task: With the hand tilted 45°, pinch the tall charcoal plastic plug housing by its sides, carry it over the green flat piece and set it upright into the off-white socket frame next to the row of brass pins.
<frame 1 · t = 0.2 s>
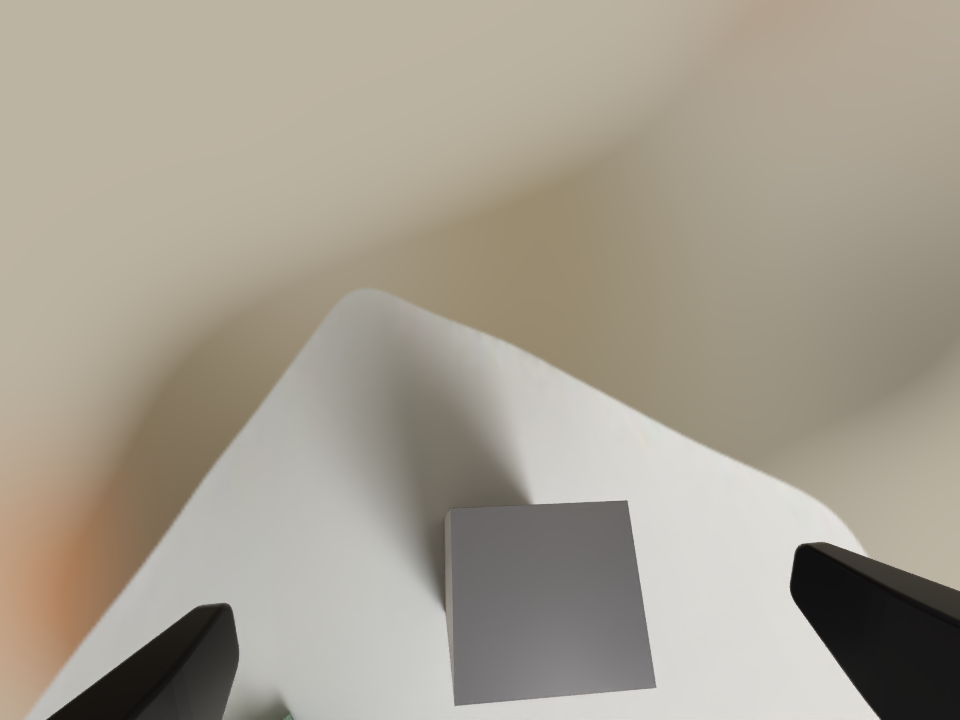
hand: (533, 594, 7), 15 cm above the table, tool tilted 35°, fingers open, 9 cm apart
plug housing: (493, 561, 21), on the table
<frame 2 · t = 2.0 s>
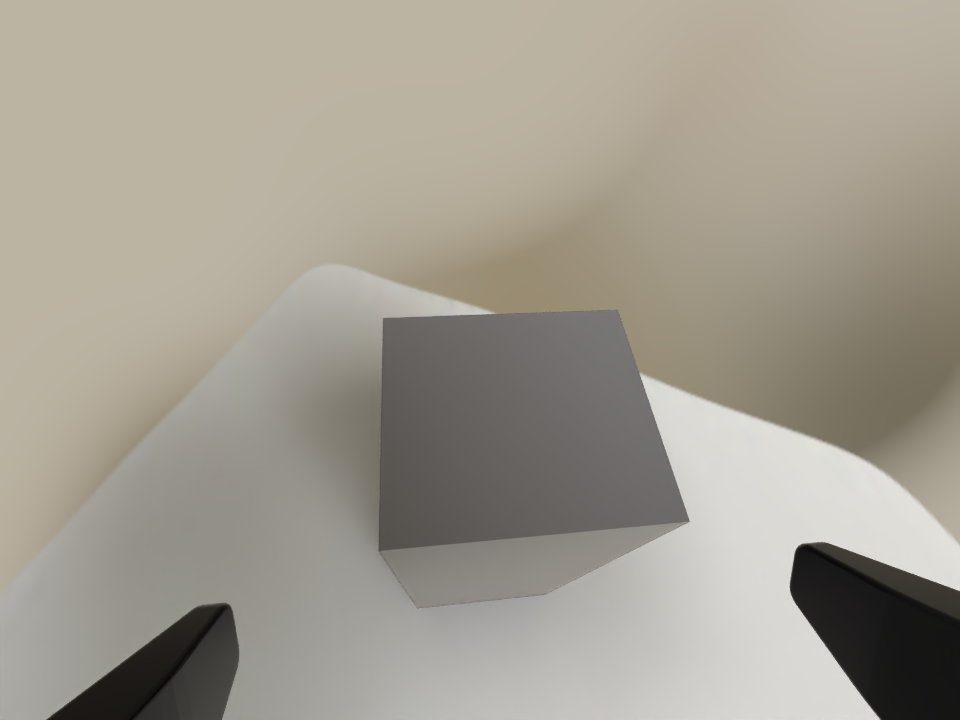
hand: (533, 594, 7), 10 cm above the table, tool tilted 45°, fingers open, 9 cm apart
plug housing: (477, 540, 17), on the table
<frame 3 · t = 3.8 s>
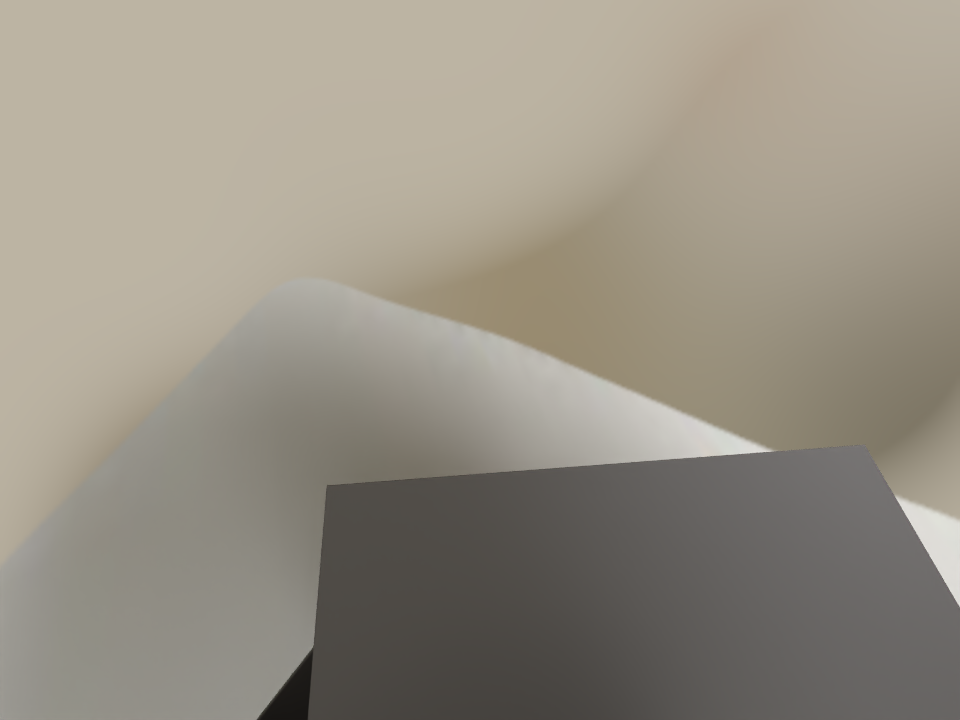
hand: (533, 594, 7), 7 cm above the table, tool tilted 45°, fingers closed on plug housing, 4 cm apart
plug housing: (498, 675, 12), on the table, touching gripper
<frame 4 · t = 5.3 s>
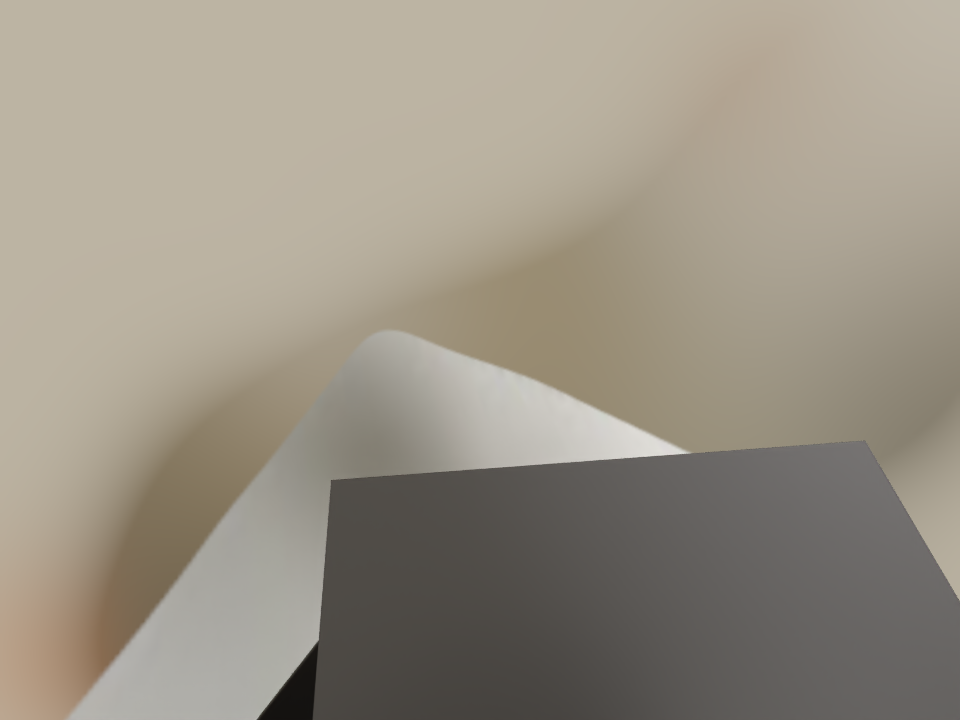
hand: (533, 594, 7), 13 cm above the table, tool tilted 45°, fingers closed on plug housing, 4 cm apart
plug housing: (499, 673, 12), point 7 cm above the table, touching gripper
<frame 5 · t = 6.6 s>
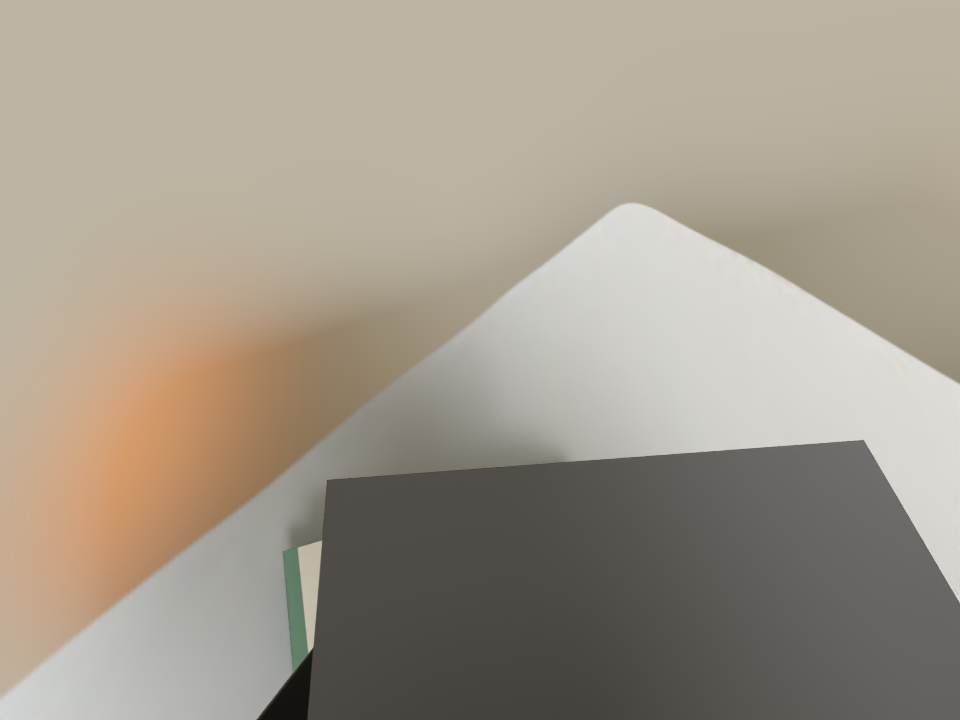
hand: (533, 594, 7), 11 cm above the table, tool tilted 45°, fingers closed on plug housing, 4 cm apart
green flat piece: (496, 713, 15), on the table
plug housing: (498, 674, 12), point 5 cm above the table, touching gripper
when the fingers open (9 cm above the table, at t = 7.3 s): plug housing drops 1 cm, resting on green flat piece.
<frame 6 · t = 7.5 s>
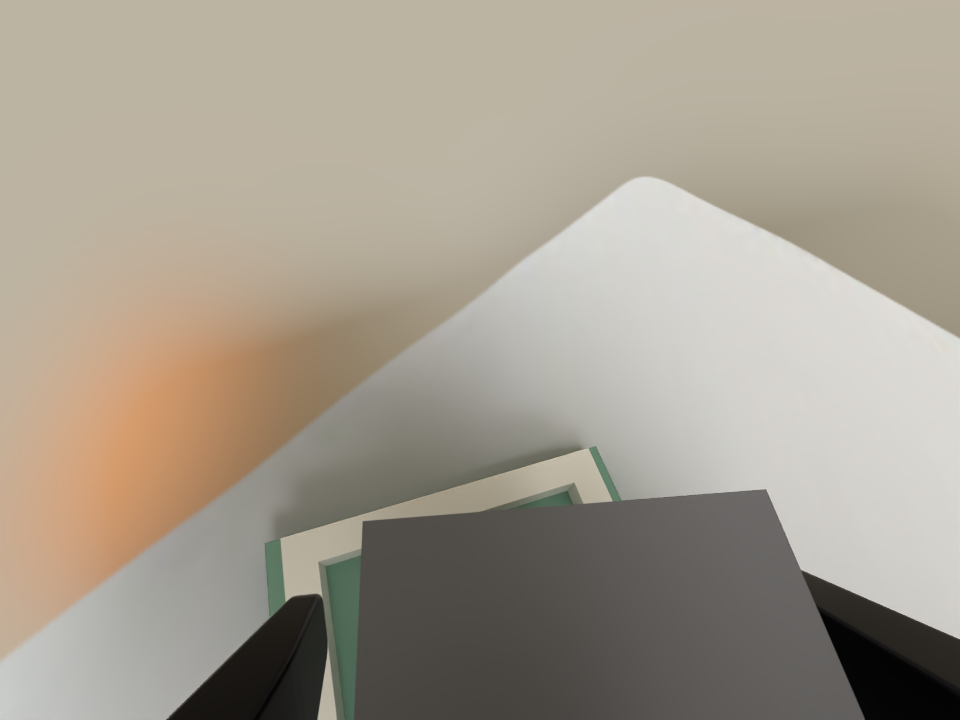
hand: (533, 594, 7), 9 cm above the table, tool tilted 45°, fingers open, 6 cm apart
plug housing: (494, 669, 13), point 1 cm above the table, touching green flat piece
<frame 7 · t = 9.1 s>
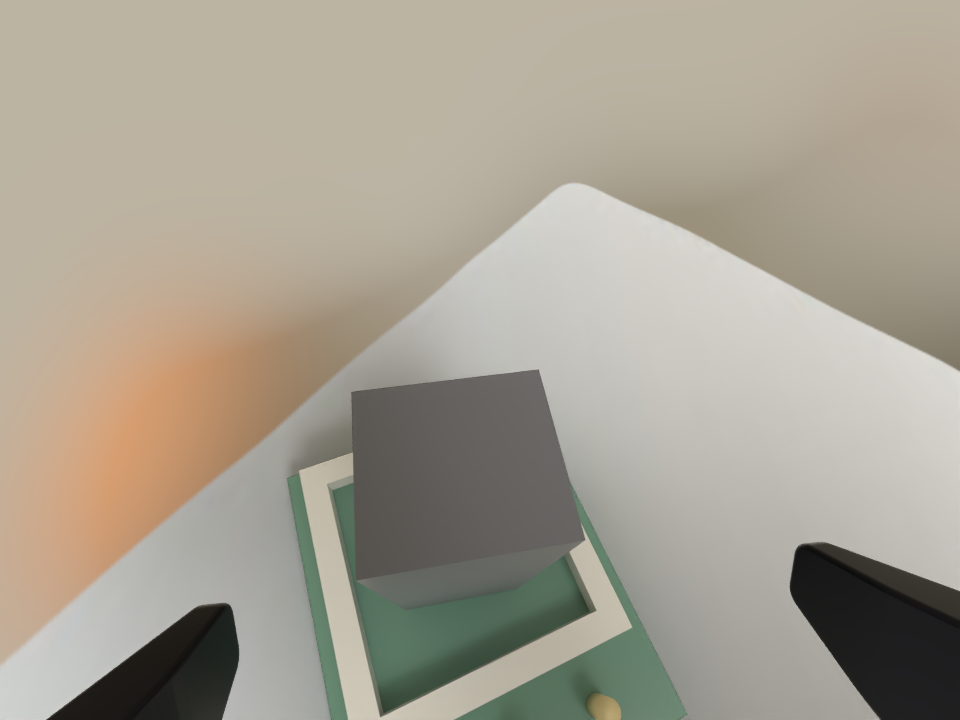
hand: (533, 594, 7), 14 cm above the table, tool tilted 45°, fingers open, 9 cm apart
green flat piece: (466, 586, 19), on the table
plug housing: (454, 547, 19), point 1 cm above the table, touching green flat piece
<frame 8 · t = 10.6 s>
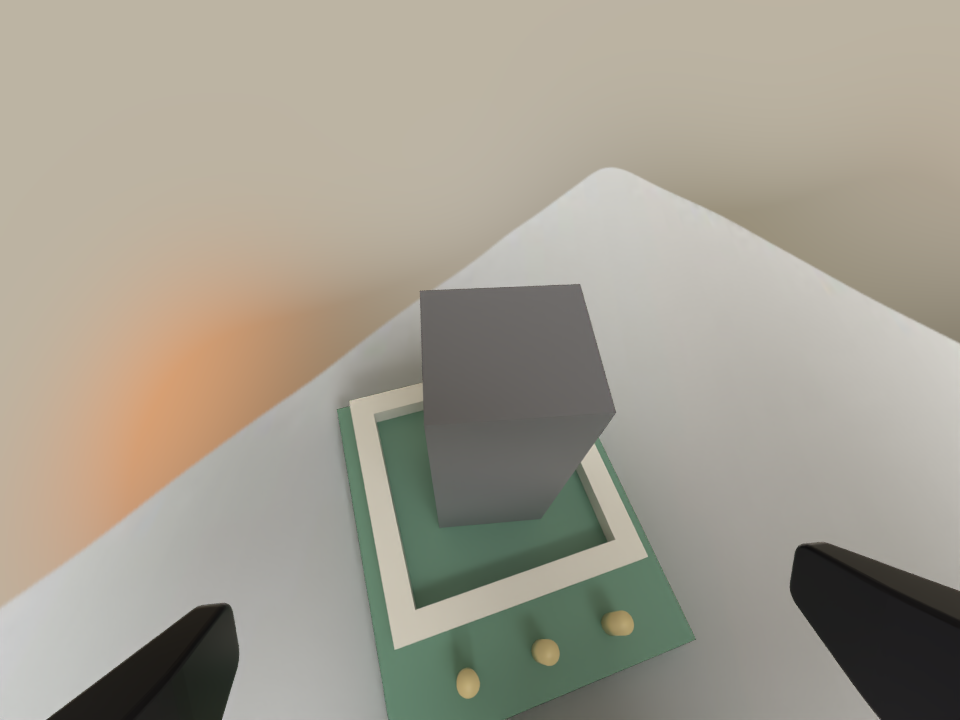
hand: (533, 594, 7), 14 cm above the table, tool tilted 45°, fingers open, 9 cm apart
green flat piece: (494, 516, 21), on the table
plug housing: (486, 478, 21), point 1 cm above the table, touching green flat piece
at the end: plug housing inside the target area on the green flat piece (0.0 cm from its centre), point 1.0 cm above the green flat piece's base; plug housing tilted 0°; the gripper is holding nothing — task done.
